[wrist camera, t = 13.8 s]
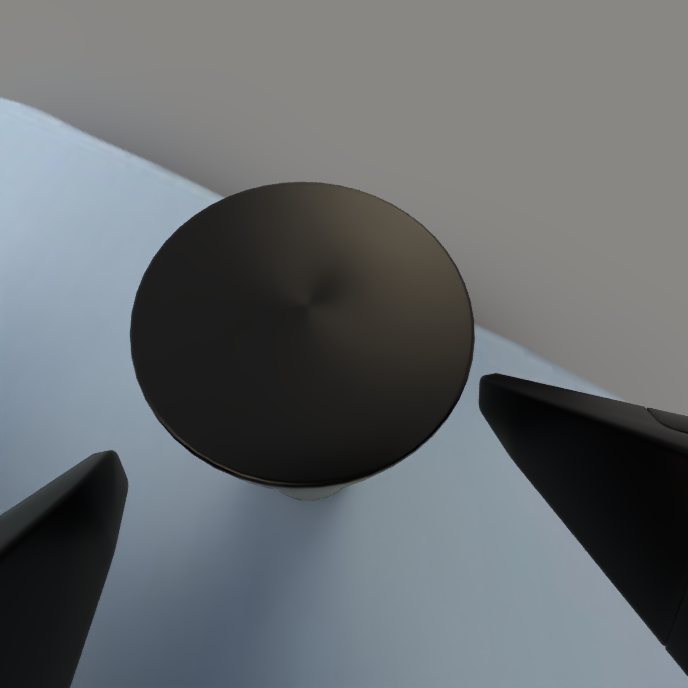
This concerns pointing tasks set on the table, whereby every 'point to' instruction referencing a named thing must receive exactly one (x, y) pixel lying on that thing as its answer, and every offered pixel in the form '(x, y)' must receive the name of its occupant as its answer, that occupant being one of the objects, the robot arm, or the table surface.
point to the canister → (302, 336)
